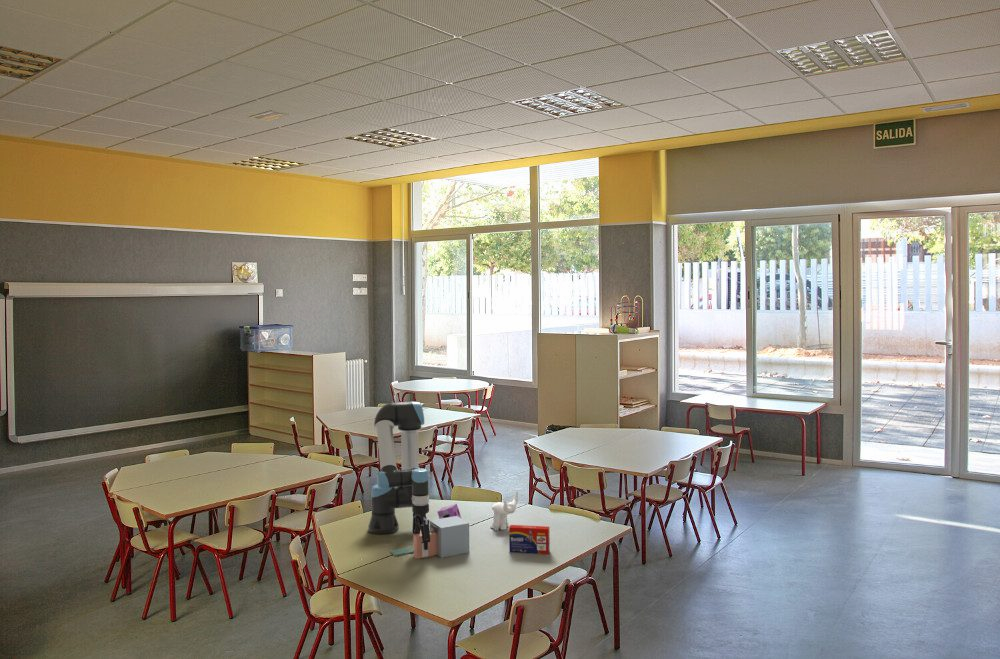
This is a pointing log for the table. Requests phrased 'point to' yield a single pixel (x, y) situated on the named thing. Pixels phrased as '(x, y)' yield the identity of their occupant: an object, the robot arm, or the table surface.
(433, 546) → the long salmon pink block
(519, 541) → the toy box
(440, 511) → the toy
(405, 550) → the mat
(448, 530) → the pale blue cube
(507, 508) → the toy animal
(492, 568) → the table surface
